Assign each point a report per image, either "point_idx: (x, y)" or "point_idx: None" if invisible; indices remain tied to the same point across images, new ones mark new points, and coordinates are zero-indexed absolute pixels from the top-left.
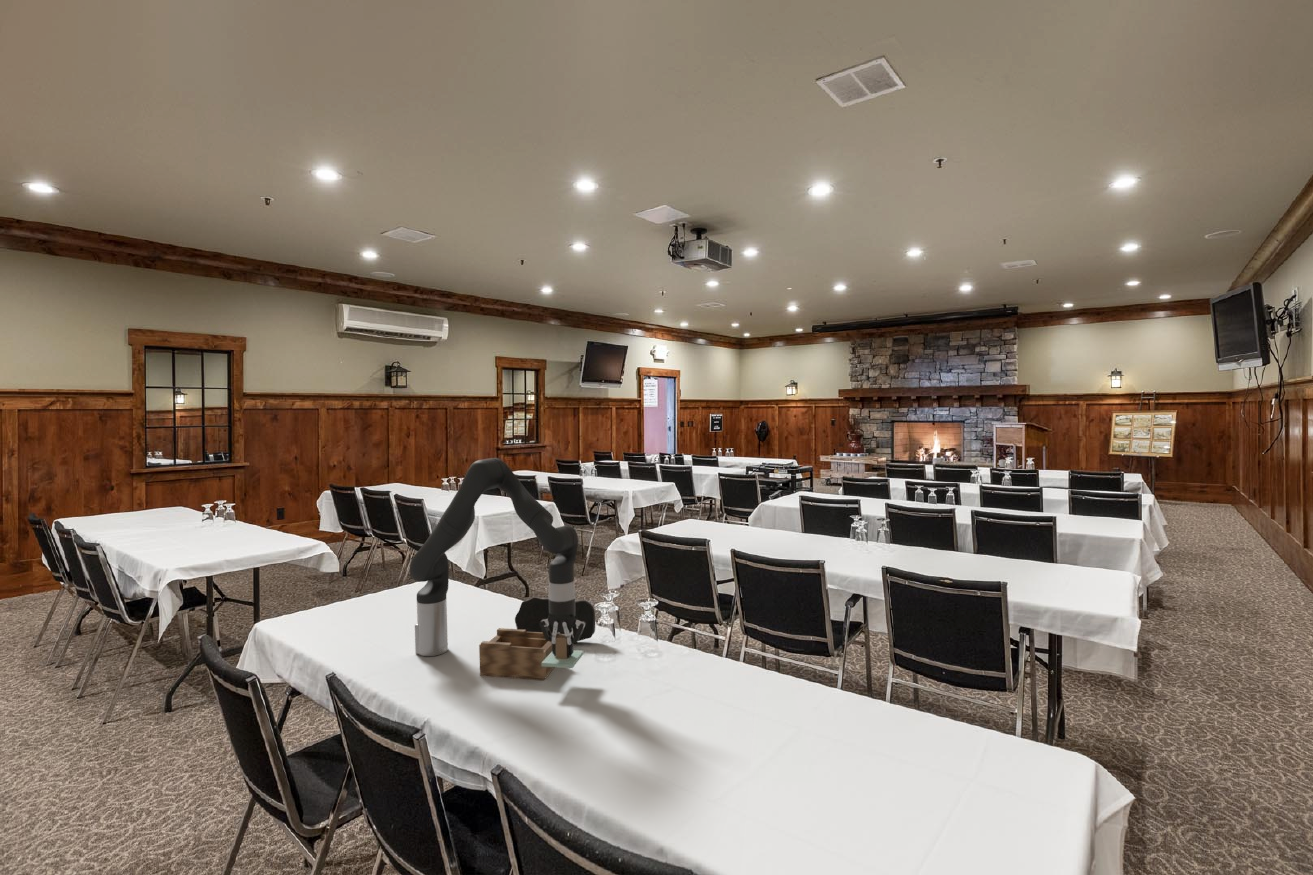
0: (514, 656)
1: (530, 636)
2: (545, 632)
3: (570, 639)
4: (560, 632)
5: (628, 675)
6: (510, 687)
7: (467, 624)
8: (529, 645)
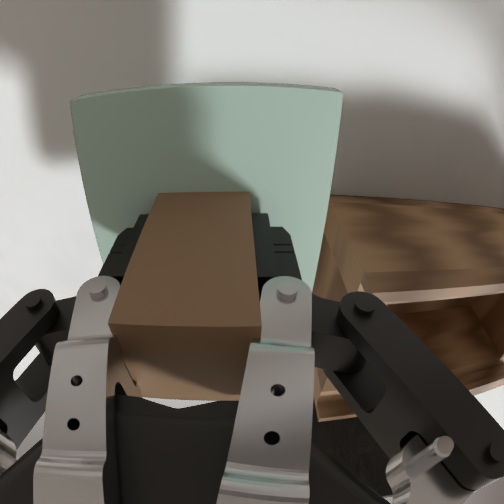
0: (481, 253)
1: None
2: (411, 370)
3: (74, 317)
4: (322, 429)
5: (34, 278)
6: (439, 121)
7: (487, 397)
8: None
